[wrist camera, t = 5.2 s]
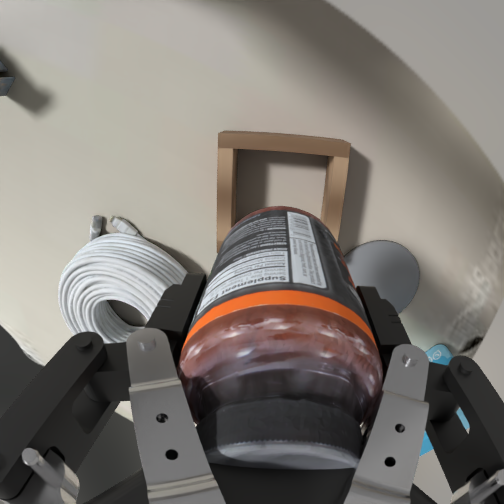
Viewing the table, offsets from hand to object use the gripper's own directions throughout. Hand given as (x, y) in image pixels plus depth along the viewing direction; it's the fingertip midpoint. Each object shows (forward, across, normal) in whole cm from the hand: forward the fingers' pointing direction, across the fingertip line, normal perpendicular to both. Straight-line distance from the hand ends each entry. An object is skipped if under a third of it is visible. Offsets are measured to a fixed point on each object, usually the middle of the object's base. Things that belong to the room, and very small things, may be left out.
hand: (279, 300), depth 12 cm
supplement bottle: (+4, 0, 0) cm, 4 cm away
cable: (+18, +15, +14) cm, 27 cm away
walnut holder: (+18, 0, 0) cm, 18 cm away
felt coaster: (+17, -11, +9) cm, 23 cm away
